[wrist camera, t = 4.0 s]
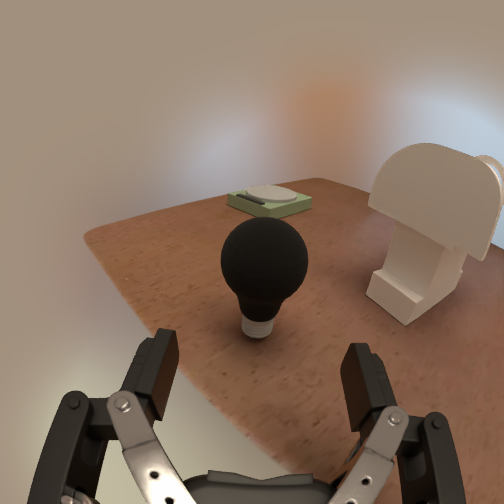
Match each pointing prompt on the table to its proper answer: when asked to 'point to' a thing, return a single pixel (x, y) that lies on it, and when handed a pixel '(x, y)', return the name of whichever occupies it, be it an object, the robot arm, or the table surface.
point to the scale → (269, 201)
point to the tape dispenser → (432, 223)
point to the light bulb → (263, 269)
